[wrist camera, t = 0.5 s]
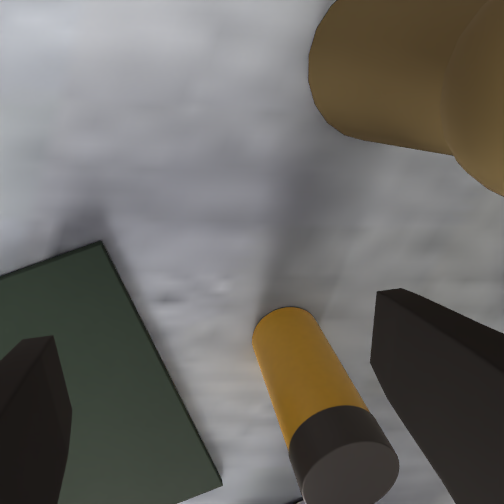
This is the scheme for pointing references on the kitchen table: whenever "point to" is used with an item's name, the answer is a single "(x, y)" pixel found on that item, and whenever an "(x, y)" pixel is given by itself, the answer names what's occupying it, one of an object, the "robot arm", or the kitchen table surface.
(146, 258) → the kitchen table surface
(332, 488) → the glue stick
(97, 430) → the mat
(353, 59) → the olive pawn
